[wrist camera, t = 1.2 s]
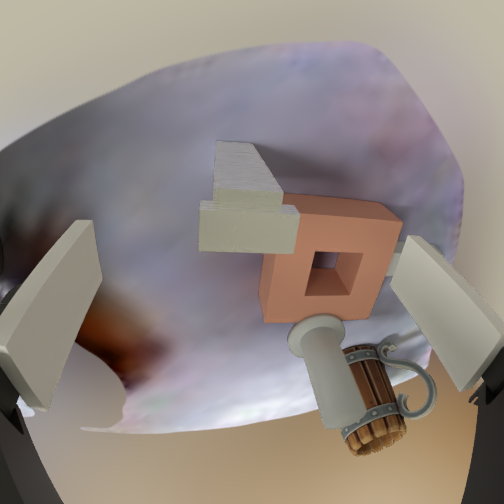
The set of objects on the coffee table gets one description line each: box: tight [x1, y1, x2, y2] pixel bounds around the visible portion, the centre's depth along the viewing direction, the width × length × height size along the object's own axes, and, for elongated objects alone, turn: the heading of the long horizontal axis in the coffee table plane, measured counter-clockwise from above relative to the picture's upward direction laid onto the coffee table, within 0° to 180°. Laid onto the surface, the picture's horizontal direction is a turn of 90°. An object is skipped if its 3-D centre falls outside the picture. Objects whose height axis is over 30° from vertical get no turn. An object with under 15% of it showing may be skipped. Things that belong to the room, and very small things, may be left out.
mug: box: [341, 341, 437, 456], centre depth 37 cm, size 16×11×15 cm
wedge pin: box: [199, 141, 300, 254], centre depth 20 cm, size 4×3×15 cm
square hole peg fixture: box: [258, 193, 445, 429], centre depth 27 cm, size 22×17×16 cm
